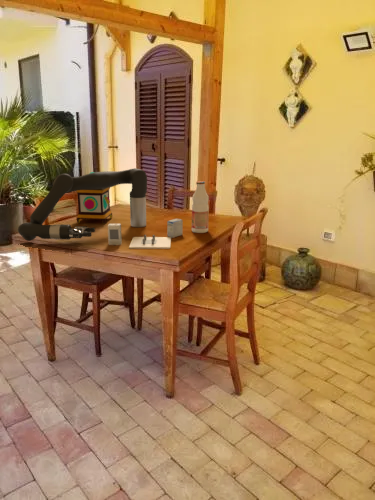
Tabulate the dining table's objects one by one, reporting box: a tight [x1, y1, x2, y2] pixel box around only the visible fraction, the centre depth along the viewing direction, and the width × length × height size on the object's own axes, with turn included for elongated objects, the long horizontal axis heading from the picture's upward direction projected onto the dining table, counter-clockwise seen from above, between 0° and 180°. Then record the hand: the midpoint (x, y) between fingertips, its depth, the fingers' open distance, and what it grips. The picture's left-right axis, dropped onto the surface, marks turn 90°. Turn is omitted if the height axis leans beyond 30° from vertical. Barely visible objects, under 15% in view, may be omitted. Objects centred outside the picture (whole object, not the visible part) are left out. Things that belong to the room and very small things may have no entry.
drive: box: [107, 223, 123, 246], centre depth 206 cm, size 4×6×10 cm
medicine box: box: [166, 218, 184, 239], centre depth 222 cm, size 8×4×9 cm, turn 141°
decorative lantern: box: [75, 171, 113, 225], centre depth 250 cm, size 20×20×30 cm
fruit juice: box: [191, 180, 210, 234], centre depth 229 cm, size 9×9×28 cm
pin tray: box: [128, 234, 172, 250], centre depth 208 cm, size 18×20×3 cm
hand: (93, 232), depth 205 cm, fingers open, 8 cm apart
